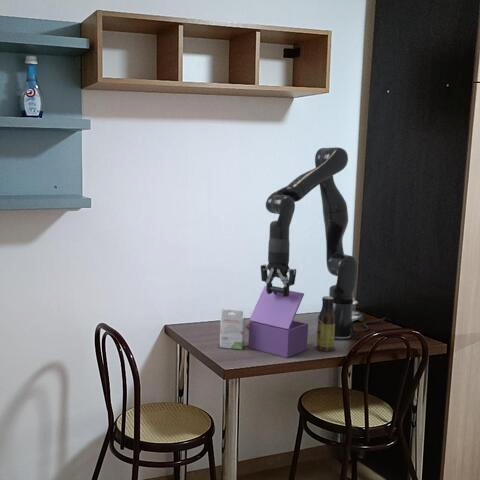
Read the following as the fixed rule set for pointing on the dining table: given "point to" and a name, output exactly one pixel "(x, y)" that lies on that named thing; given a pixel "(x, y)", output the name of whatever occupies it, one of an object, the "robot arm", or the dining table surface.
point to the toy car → (356, 313)
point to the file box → (278, 338)
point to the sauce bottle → (326, 325)
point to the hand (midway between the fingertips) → (277, 294)
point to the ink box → (232, 329)
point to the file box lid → (276, 308)
